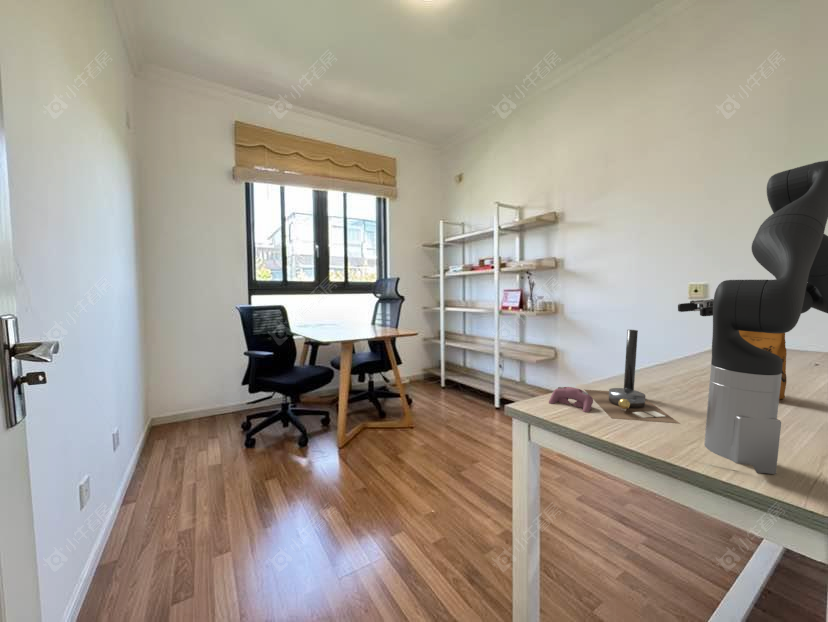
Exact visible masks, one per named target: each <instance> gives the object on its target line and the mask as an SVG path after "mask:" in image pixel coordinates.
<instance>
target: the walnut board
mask: <svg viewBox="0 0 828 622" xmlns="http://www.w3.org/2000/svg"><path fill="white" fill-rule="evenodd" d="M583 391H585V392H587V393H588V394H589V395H590V396H591V397H592V398H593V402H595V403H596V404H597V405H598V406H599V408H601V410H603V411H604V412H605V413H606V414H607V415H608V416H609V417H610V418H611V419H614V420H615V419H617V420H630V421H642V422H645V421H646V422H654V423H656V422H657V423H665V424H666V423H667V424H669V423H670V424H681V423H680V422H678V421H677V420H676V419H675V418H673V417H672V416H670V415H669V414H667V413H666V412H665V411H663V410H662V409H660V408H659V407H658V406H656V405H655V404H654V403H652V402H650V400H648V399H646V398H645V406H644V407H642V408H630V407H629V408H628V409H626V411H624V410H621V407H620V406H619V405H616V404H614V403H612V402H610V401H609V390H601V389H600V390H597V389H583Z"/></svg>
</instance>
